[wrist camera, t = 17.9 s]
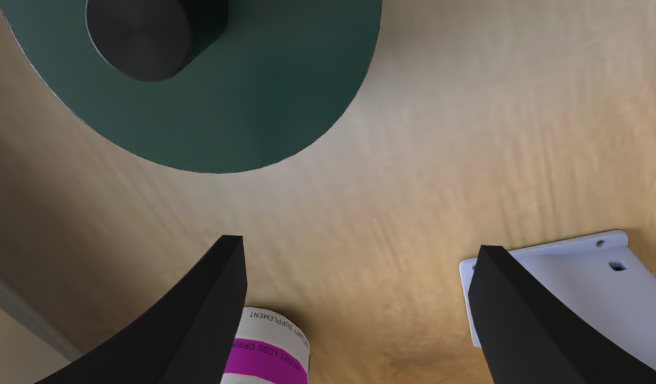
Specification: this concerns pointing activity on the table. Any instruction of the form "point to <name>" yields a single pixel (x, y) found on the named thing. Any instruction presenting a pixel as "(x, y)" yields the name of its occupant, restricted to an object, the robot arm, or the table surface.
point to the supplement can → (267, 351)
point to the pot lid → (201, 72)
